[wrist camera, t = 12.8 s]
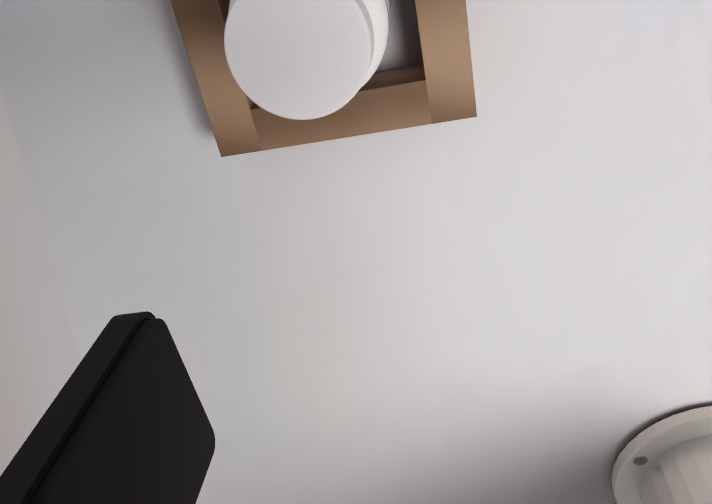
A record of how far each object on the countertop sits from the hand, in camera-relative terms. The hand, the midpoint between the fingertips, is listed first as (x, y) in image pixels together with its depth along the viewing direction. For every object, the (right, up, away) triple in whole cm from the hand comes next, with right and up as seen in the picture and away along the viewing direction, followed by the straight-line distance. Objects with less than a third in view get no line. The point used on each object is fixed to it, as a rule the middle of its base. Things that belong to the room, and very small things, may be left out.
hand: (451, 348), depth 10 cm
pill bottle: (-3, +13, +18) cm, 23 cm away
